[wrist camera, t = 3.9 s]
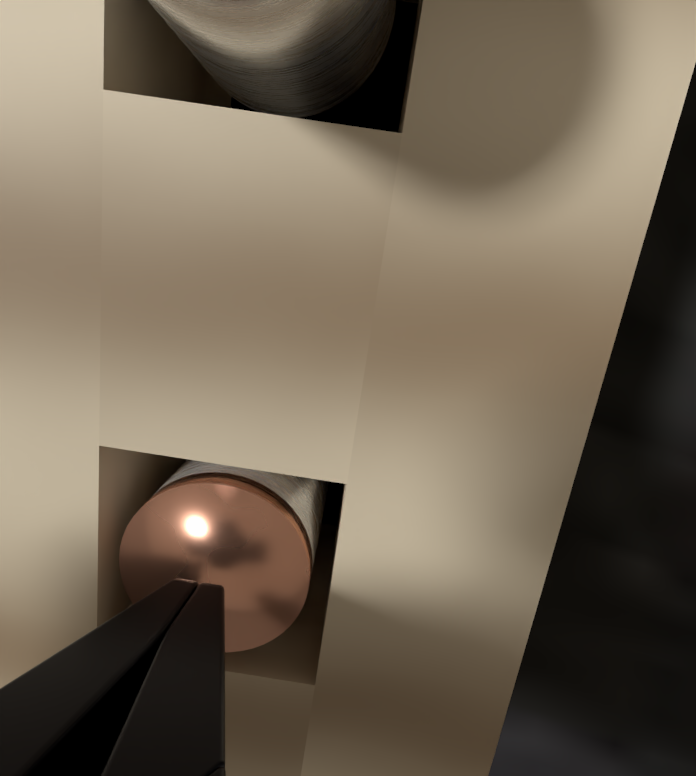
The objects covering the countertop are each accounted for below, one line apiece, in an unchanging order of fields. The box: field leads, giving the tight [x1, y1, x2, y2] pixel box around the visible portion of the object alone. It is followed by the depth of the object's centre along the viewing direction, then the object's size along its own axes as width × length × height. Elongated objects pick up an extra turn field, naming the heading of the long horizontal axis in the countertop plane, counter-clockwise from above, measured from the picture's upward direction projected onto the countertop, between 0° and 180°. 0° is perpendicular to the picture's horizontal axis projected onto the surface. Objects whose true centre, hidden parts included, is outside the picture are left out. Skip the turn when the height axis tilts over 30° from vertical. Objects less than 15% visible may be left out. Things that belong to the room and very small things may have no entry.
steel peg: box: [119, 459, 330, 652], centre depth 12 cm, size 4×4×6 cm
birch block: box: [0, 0, 696, 776], centre depth 10 cm, size 20×12×6 cm, turn 172°
